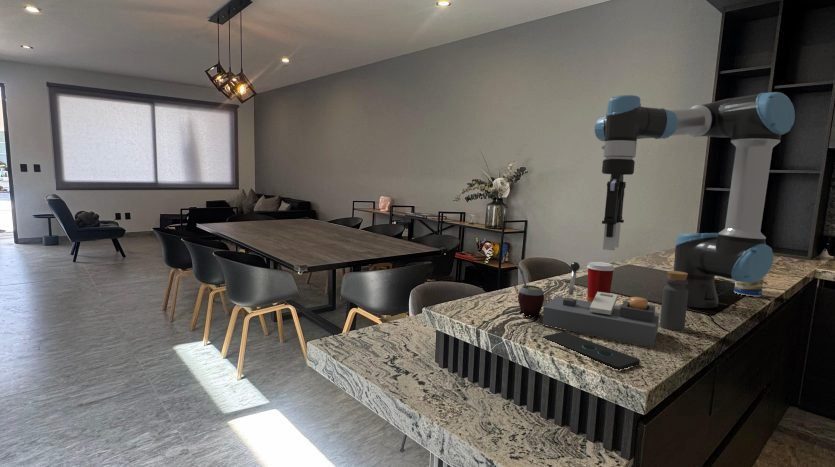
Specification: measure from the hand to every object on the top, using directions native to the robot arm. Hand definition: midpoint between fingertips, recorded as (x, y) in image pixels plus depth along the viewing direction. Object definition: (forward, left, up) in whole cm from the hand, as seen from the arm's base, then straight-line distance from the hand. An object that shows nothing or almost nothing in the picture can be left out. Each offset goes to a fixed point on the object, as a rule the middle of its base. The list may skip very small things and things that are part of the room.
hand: (610, 248), depth 120 cm
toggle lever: (+3, -9, -13) cm, 16 cm away
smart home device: (+23, 0, -22) cm, 32 cm away
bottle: (-11, +16, -21) cm, 28 cm away
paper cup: (-16, -4, -21) cm, 27 cm away
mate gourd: (+3, -19, -21) cm, 29 cm away
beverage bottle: (-73, +37, -21) cm, 84 cm away
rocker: (+3, 0, -14) cm, 14 cm away
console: (+3, 0, -21) cm, 21 cm away
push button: (+4, +8, -14) cm, 16 cm away
